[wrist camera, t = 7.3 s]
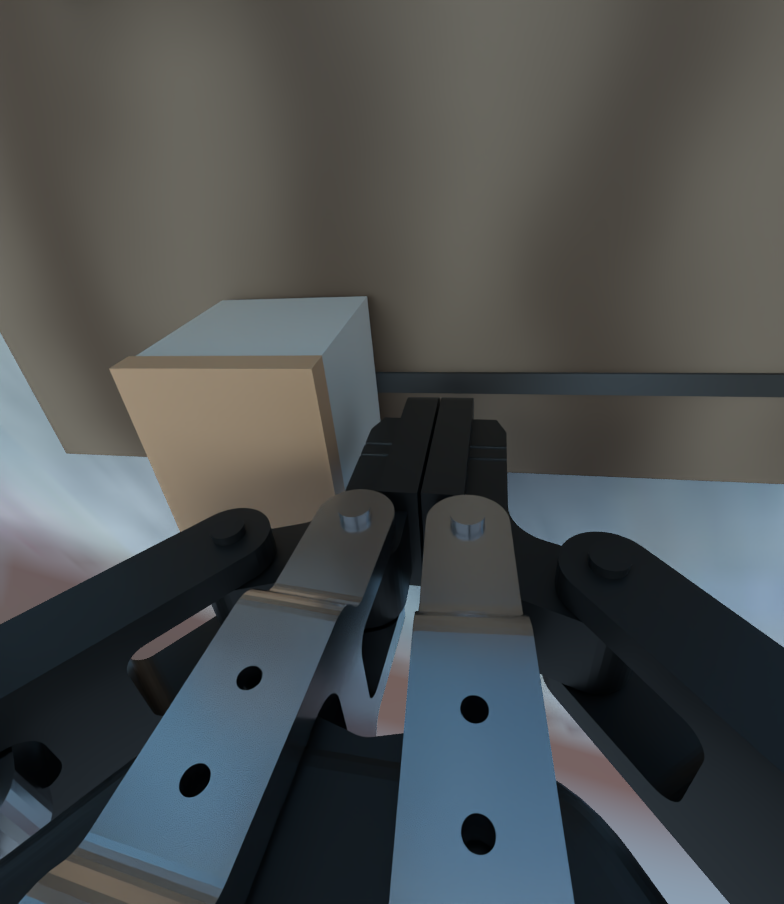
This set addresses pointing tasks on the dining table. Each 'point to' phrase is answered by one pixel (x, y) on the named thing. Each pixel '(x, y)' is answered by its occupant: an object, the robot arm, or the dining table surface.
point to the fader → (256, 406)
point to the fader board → (416, 208)
